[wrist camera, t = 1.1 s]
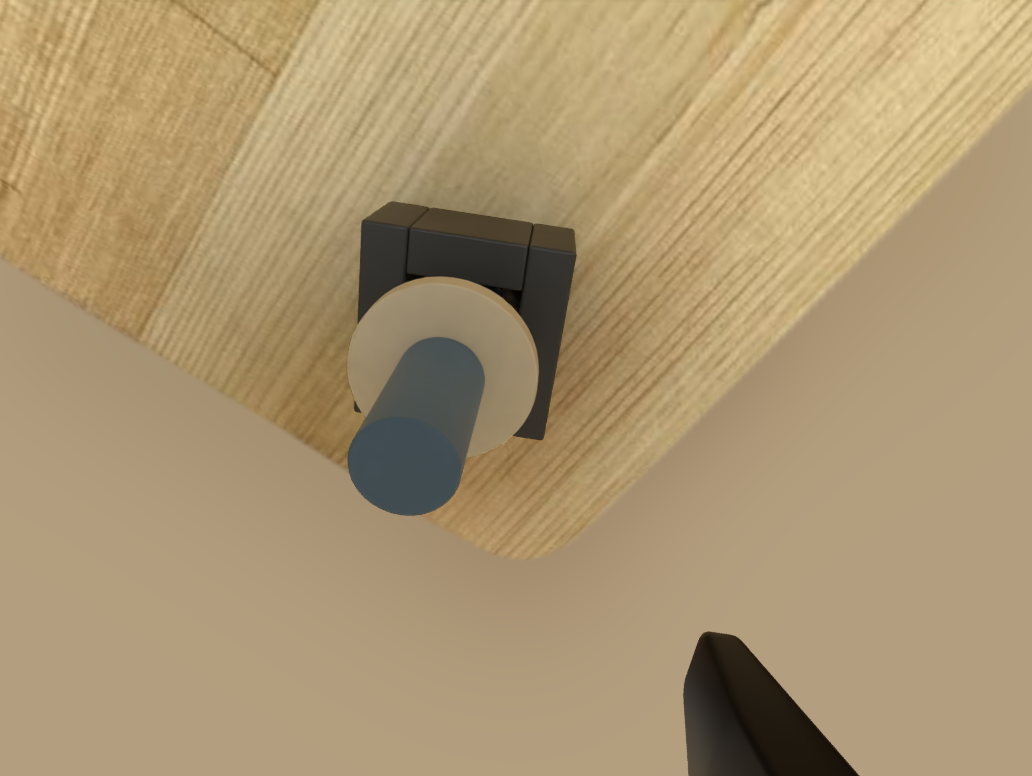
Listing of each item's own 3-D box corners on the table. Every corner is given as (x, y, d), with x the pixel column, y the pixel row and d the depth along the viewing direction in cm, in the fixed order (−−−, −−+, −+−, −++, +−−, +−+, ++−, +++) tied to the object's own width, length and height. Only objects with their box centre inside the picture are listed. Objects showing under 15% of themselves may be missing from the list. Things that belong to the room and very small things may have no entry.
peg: (396, 359, 21) (279, 551, 12) (405, 220, 19) (276, 331, 11) (532, 379, 21) (511, 586, 12) (555, 243, 19) (549, 373, 11)
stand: (379, 370, 21) (353, 412, 19) (389, 200, 19) (360, 219, 16) (545, 396, 21) (543, 441, 19) (574, 229, 19) (577, 252, 16)
